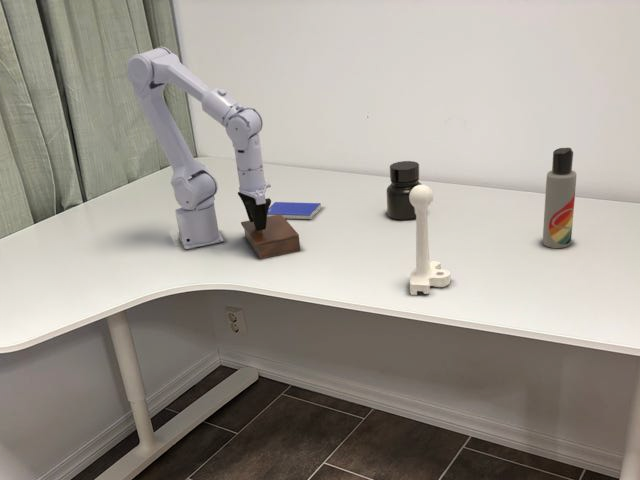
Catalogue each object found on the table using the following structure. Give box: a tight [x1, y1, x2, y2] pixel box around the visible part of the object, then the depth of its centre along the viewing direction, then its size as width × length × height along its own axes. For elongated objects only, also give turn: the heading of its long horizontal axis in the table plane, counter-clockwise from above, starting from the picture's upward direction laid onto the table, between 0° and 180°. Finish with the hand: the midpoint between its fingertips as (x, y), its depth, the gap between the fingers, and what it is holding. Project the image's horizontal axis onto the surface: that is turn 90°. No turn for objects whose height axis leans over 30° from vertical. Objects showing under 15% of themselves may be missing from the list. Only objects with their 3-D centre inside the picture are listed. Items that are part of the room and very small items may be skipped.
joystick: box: [409, 184, 451, 296], centre depth 149 cm, size 11×8×20 cm
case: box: [243, 228, 301, 260], centre depth 180 cm, size 9×15×3 cm, turn 16°
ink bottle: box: [386, 160, 423, 221], centre depth 185 cm, size 10×9×12 cm
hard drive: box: [267, 201, 322, 220], centre depth 197 cm, size 2×8×12 cm
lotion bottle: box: [542, 147, 577, 249], centre depth 159 cm, size 6×6×20 cm
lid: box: [240, 214, 300, 245], centre depth 178 cm, size 10×15×4 cm
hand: (257, 225), depth 178 cm, fingers closed on lid, 5 cm apart
